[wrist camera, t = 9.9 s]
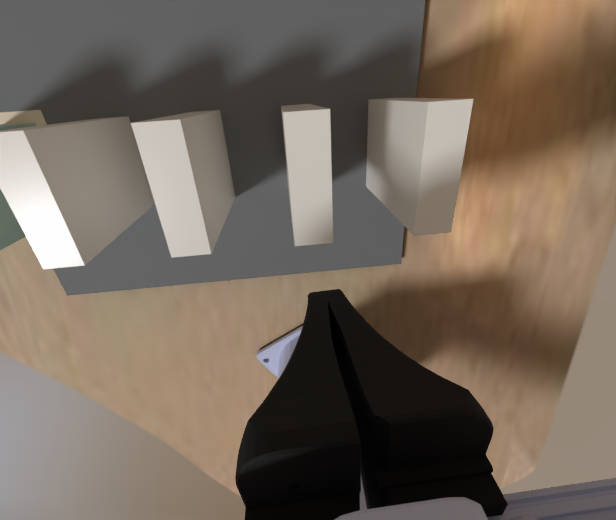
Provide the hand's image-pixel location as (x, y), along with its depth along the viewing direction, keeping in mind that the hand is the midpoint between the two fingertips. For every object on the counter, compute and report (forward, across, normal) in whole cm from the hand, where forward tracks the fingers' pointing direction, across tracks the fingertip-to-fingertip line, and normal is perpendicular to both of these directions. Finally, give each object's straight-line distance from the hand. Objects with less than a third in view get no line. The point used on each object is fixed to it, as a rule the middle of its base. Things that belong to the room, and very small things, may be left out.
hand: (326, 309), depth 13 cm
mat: (+10, +5, -5) cm, 12 cm away
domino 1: (+9, +10, -5) cm, 15 cm away
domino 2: (+9, +5, -5) cm, 12 cm away
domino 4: (+9, -5, -5) cm, 11 cm away
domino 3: (+9, 0, -5) cm, 10 cm away
